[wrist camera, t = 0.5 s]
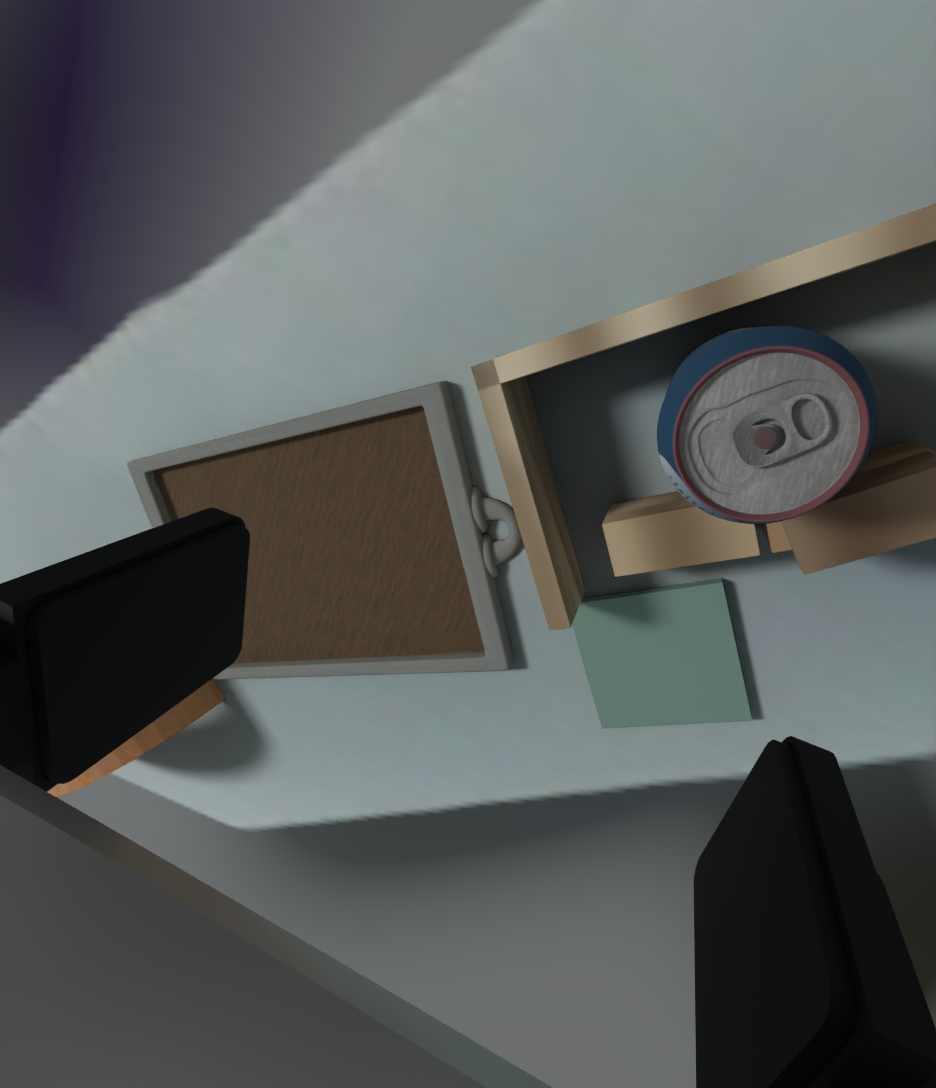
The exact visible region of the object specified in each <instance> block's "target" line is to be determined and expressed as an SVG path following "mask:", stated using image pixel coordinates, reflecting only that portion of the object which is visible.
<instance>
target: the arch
mask: <svg viewBox="0 0 936 1088" xmlns="http://www.w3.org/2000/svg"><path fill="white" fill-rule="evenodd" d="M224 699H225V697H224V696H223V694H222V692H221V691H220V689H219V688H218V686H217V684H216V683H215V681H214V680H213V679H211V680H210V681H208V682H207V683H206V684H204V685H203V686H202V687H200V688H199V689H197V690H196V691H195V692H193V693H192V694H191V695H189V696H188V697H187V698H185V699H184V700H182V701H181V702H180V703H178V704H177V705H176V706H174V707H173V708H171V709H170V710H169V711H167V712H166V713H165V714H163V715H162V716H160V717H159V718H158V719H156V720H155V721H154V722H152V723H151V724H149V725H148V726H147V727H145V728H144V729H143V730H141V731H140V732H138V733H137V734H136V735H134V736H133V737H132V738H130V739H129V740H127V741H126V742H125V743H123V744H122V745H121V746H119V747H118V748H116V749H115V750H114V751H112V752H111V753H110V754H108V755H107V756H105V757H104V758H103V759H101V760H100V761H99V762H97V763H96V764H94V765H93V766H92V767H90V768H89V769H88V770H86V771H85V772H83V773H82V774H81V775H79V776H78V777H77V778H75V779H73V780H72V781H70V782H68V783H65V784H57V785H56V786H54V787H53V788H52V789H50V790H49V791H47V792H48V793H50V794H51V795H53V796H55V797H57V796H61V795H63V794H67V793H69V792H72V791H74V790H76V789H79V788H81V787H83V786H86V785H88V784H90V783H92V782H94V781H96V780H97V779H100V778H102V777H104V776H105V775H107V774H109V773H111V772H113V771H115V770H116V769H118V768H120V767H122V766H124V765H125V764H127V763H129V762H131V761H132V760H134V759H136V758H137V757H139V756H141V755H143V754H144V753H146V752H148V751H149V750H151V749H152V748H154V747H156V746H157V745H159V744H160V743H162V742H164V741H165V740H167V739H168V738H170V737H171V736H173V735H174V734H176V733H178V732H179V731H181V730H182V729H184V728H185V727H187V726H188V725H190V724H191V723H192V722H194V721H195V720H197V719H198V718H200V717H201V716H203V715H204V714H205V713H207V712H208V711H209V710H211V709H212V708H214V707H215V706H216V705H218V704H219V703H220V702H222V701H223V700H224Z"/></svg>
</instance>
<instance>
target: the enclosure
mask: <svg viewBox="0 0 936 1088" xmlns="http://www.w3.org/2000/svg"><path fill="white" fill-rule="evenodd" d="M934 242H936V204H934V205H931V206H928V207H925V208H922V209H919V210H916V211H914V212H911V213H908V214H905V215H902V216H899V217H897V218H894V219H891V220H888V221H885V222H882V223H879V224H877V225H874V226H871V227H868V228H865V229H862V230H859V231H857V232H854V233H851V234H848V235H845V236H842V237H840V238H837V239H834V240H831V241H828V242H825V243H822V244H820V245H817V246H814V247H811V248H808V249H805V250H803V251H800V252H797V253H794V254H791V255H788V256H785V257H783V258H780V259H777V260H774V261H771V262H768V263H765V264H763V265H760V266H757V267H754V268H751V269H748V270H746V271H743V272H740V273H737V274H734V275H731V276H728V277H726V278H723V279H720V280H717V281H714V282H711V283H709V284H706V285H703V286H700V287H697V288H694V289H691V290H689V291H686V292H683V293H680V294H677V295H674V296H671V297H669V298H666V299H663V300H660V301H657V302H654V303H652V304H649V305H646V306H643V307H640V308H637V309H634V310H632V311H629V312H626V313H623V314H620V315H617V316H615V317H612V318H609V319H606V320H603V321H600V322H597V323H595V324H592V325H589V326H586V327H583V328H580V329H578V330H575V331H572V332H569V333H566V334H563V335H560V336H558V337H555V338H552V339H549V340H546V341H543V342H540V343H538V344H535V345H532V346H529V347H526V348H523V349H521V350H518V351H515V352H512V353H509V354H506V355H503V356H501V357H498V358H495V359H492V360H489V361H486V362H484V363H481V364H478V365H475V366H472V367H471V368H472V372H473V375H474V378H475V382H476V385H477V388H478V392H479V395H480V398H481V402H482V405H483V409H484V412H485V415H486V419H487V422H488V425H489V429H490V432H491V435H492V439H493V442H494V446H495V449H496V452H497V456H498V459H499V462H500V466H501V469H502V472H503V476H504V479H505V482H506V486H507V489H508V493H509V496H510V499H511V503H512V506H513V509H514V513H515V516H516V519H517V523H518V526H519V529H520V533H521V536H522V540H523V543H524V546H525V550H526V553H527V556H528V560H529V563H530V566H531V570H532V573H533V576H534V580H535V583H536V587H537V590H538V593H539V597H540V600H541V603H542V607H543V610H544V613H545V617H546V620H547V624H548V627H549V630H557V629H565V628H571V625H572V623H573V620H574V618H575V615H576V613H577V610H578V608H579V605H580V603H581V600H582V598H583V595H584V593H585V588H584V585H583V581H582V577H581V574H580V570H579V567H578V563H577V559H576V556H575V552H574V549H573V545H572V541H571V538H570V534H569V530H568V527H567V523H566V520H565V516H564V512H563V509H562V505H561V502H560V498H559V494H558V491H557V487H556V484H555V480H554V476H553V473H552V469H551V465H550V462H549V458H548V455H547V451H546V447H545V444H544V440H543V437H542V433H541V429H540V426H539V422H538V419H537V415H536V411H535V408H534V404H533V400H532V397H531V393H530V390H529V386H528V382H527V379H526V376H529V375H533V374H536V373H539V372H542V371H545V370H548V369H551V368H554V367H557V366H560V365H563V364H566V363H569V362H572V361H575V360H578V359H581V358H584V357H587V356H590V355H593V354H596V353H600V352H603V351H606V350H609V349H612V348H615V347H618V346H621V345H624V344H627V343H630V342H633V341H636V340H639V339H642V338H645V337H648V336H651V335H654V334H657V333H660V332H663V331H666V330H670V329H673V328H676V327H679V326H682V325H685V324H688V323H691V322H694V321H697V320H700V319H703V318H706V317H709V316H712V315H715V314H718V313H721V312H724V311H727V310H730V309H733V308H737V307H740V306H743V305H746V304H749V303H752V302H755V301H758V300H761V299H764V298H767V297H770V296H773V295H776V294H779V293H782V292H785V291H788V290H791V289H794V288H797V287H800V286H803V285H807V284H810V283H813V282H816V281H819V280H822V279H825V278H828V277H831V276H834V275H837V274H840V273H843V272H846V271H849V270H852V269H855V268H858V267H861V266H864V265H867V264H870V263H873V262H877V261H880V260H883V259H886V258H889V257H892V256H895V255H898V254H901V253H904V252H907V251H910V250H913V249H916V248H919V247H922V246H925V245H928V244H931V243H934Z"/></svg>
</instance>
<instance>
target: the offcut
mask: <svg viewBox="0 0 936 1088" xmlns="http://www.w3.org/2000/svg"><path fill="white" fill-rule="evenodd" d="M602 527H603V531H604V535H605V539H606V543H607V547H608V551H609V555H610V559H611V563H612V567H613V571H614V575H615V577H618V576H625V575H631V574H638V573H645V572H651V571H658V570H665V569H671V568H678V567H685V566H691V565H698V564H705V563H711V562H718V561H725V560H731V559H738V558H745V557H751V556H758V555H760V553H759V547H758V542H757V536H756V531H755V525H754V524H744V523H737V522H731V521H727V520H723V519H720V518H717V517H715V516H712V515H710V514H708V513H706V512H704V511H702V510H700V509H699V508H697V507H695V506H694V505H693V504H691V503H690V502H689V501H687V500H686V499H685V498H684V497H683V496H682V495H681V494H680V493H679V492H678V491H676V492H671V493H666V494H661V495H656V496H651V497H646V498H641V499H636V500H631V501H626V502H621V503H617V504H612V505H611V506H610V508H609V510H608V512H607V514H606V516H605V519H604V521H603V523H602Z"/></svg>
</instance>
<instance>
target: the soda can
mask: <svg viewBox="0 0 936 1088" xmlns="http://www.w3.org/2000/svg"><path fill="white" fill-rule="evenodd" d="M876 418H877V411H876V400H875V395H874V391H873V388H872V385H871V382H870V380H869V378H868V376H867V374H866V372H865V370H864V369H863V367H862V366H861V364H860V363H859V362H858V361H857V359H856V358H855V357H854V356H853V355H852V354H851V353H850V352H849V351H848V350H847V349H845V348H844V347H843V346H842V345H840V344H839V343H837V342H836V341H834V340H832V339H830V338H829V337H827V336H825V335H822V334H820V333H817V332H814V331H811V330H808V329H803V328H798V327H791V326H765V327H751V328H740V329H735V330H730V331H727V332H724V333H721V334H719V335H716V336H714V337H712V338H710V339H708V340H707V341H705V342H703V343H702V344H700V345H699V346H698V347H697V348H695V349H694V350H693V351H692V352H691V353H690V354H689V355H688V356H687V357H686V358H685V359H684V360H683V361H682V363H681V364H680V365H679V367H678V368H677V370H676V372H675V373H674V375H673V377H672V380H671V382H670V385H669V387H668V390H667V393H666V396H665V399H664V402H663V404H662V407H661V411H660V415H659V420H658V427H657V444H658V451H659V456H660V460H661V463H662V466H663V468H664V470H665V472H666V474H667V476H668V478H669V480H670V481H671V483H672V484H673V486H674V487H675V488H676V490H677V491H678V492H679V493H680V494H681V495H682V496H683V497H684V498H685V499H686V500H687V501H689V502H690V503H691V504H693V505H694V506H695V507H697V508H699V509H700V510H702V511H704V512H706V513H708V514H710V515H712V516H715V517H717V518H720V519H723V520H727V521H731V522H737V523H744V524H768V523H775V522H781V521H784V520H788V519H792V518H795V517H798V516H800V515H803V514H805V513H807V512H809V511H811V510H813V509H815V508H817V507H819V506H821V505H822V504H824V503H825V502H827V501H828V500H830V499H831V498H832V497H834V496H835V495H836V494H837V493H838V492H840V491H841V490H842V489H843V488H844V487H845V486H846V485H847V484H848V483H849V482H850V480H851V479H852V478H853V477H854V476H855V474H856V473H857V472H858V470H859V469H860V467H861V465H862V464H863V462H864V460H865V458H866V457H867V454H868V452H869V450H870V447H871V444H872V441H873V438H874V434H875V428H876Z"/></svg>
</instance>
